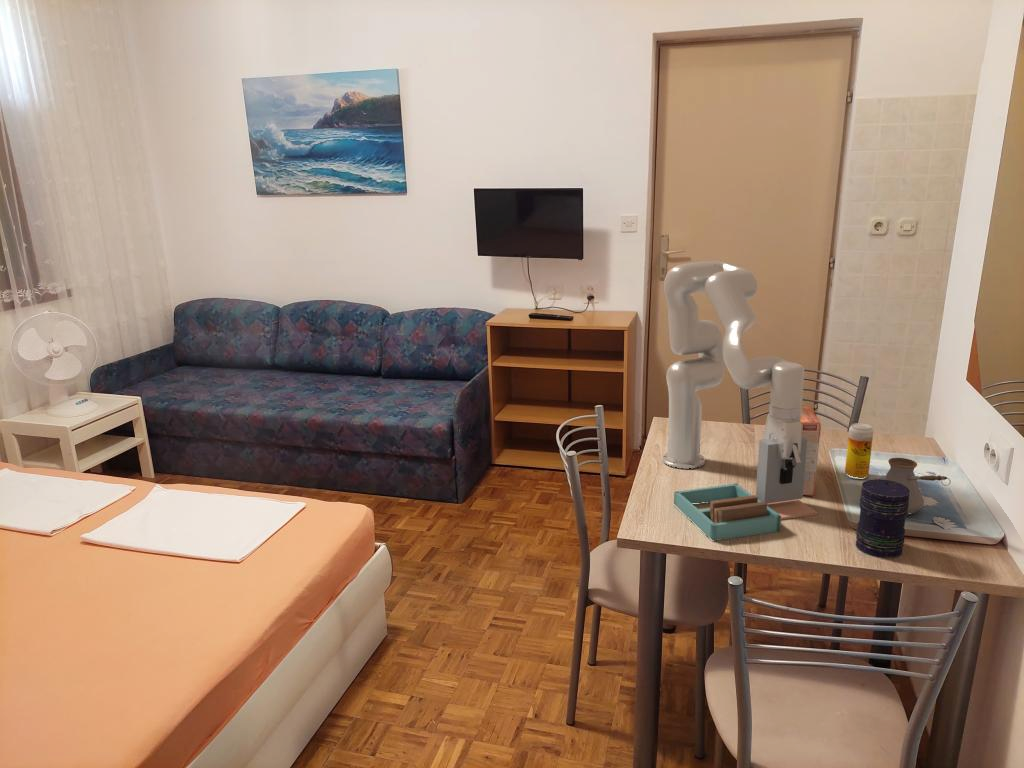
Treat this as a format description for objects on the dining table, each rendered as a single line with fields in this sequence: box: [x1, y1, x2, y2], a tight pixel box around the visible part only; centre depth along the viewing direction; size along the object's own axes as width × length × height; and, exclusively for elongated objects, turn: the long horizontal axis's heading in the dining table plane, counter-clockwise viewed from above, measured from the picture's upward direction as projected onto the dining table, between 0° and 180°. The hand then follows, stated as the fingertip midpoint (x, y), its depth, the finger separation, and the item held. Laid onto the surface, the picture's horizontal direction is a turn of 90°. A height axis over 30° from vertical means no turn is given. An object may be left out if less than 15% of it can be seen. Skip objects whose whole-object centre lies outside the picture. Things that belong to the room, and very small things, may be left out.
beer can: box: [844, 422, 874, 478], centre depth 205 cm, size 6×6×15 cm
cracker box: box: [800, 406, 822, 497], centre depth 199 cm, size 14×6×21 cm, turn 168°
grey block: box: [755, 437, 807, 504], centre depth 187 cm, size 4×11×16 cm, turn 104°
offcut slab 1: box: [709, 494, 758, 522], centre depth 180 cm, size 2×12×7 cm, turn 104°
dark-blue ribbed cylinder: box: [855, 479, 910, 559], centre depth 166 cm, size 10×10×15 cm
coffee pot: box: [882, 457, 951, 514], centre depth 180 cm, size 21×12×15 cm, turn 8°
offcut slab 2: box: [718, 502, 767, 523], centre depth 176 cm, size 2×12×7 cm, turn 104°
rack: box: [673, 483, 782, 541], centre depth 184 cm, size 20×18×4 cm
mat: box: [754, 494, 818, 521], centre depth 190 cm, size 14×13×1 cm
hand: (780, 478), depth 188 cm, fingers closed on grey block, 4 cm apart
